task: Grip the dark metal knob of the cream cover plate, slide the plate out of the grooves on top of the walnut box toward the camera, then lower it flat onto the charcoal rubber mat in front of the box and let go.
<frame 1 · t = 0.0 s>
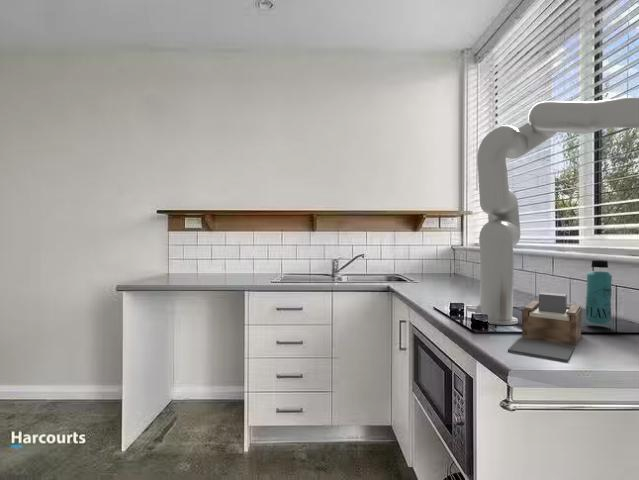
walnut box: (551, 336, 111), on the countertop
charcoal mat: (541, 350, 98), on the countertop
cover plate: (552, 314, 111), point 6 cm above the countertop, touching walnut box
beverage bottle: (597, 327, 124), on the countertop
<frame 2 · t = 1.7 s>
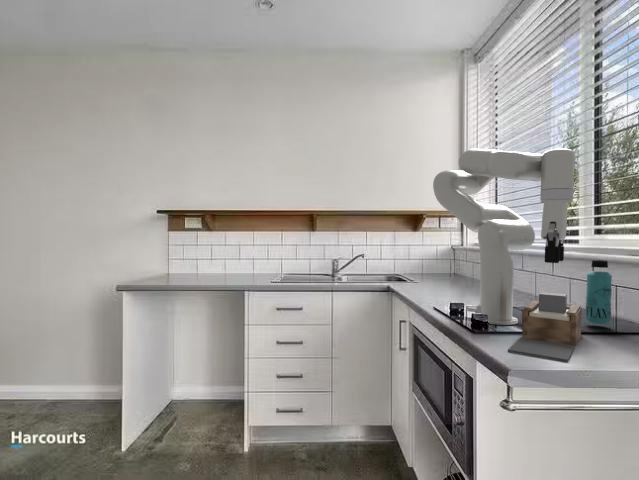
hand: (554, 261, 110), 20 cm above the countertop, tool pointing down, fingers open, 9 cm apart
nothing on the countertop moved.
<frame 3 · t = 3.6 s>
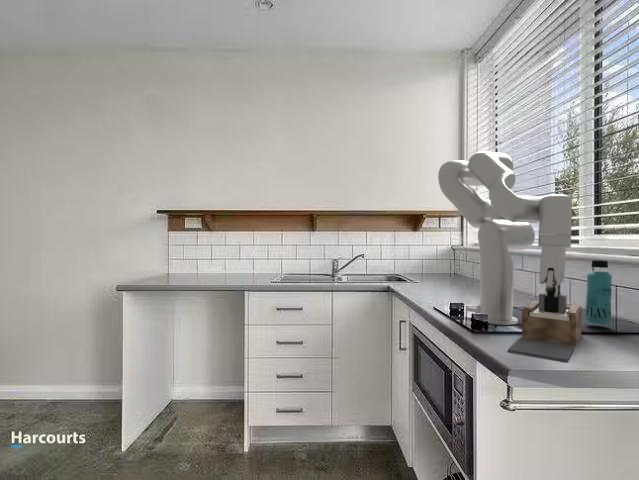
hand: (552, 309, 111), 7 cm above the countertop, tool pointing down, fingers closed on cover plate, 4 cm apart
cover plate: (552, 314, 111), point 6 cm above the countertop, touching gripper, walnut box
everything else where it was.
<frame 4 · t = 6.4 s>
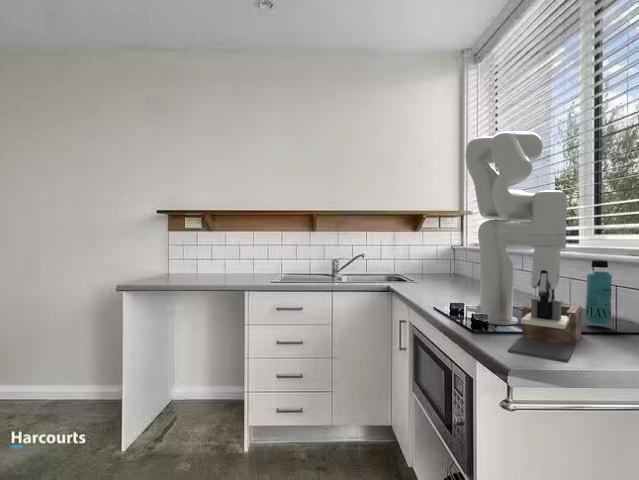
hand: (546, 316, 102), 7 cm above the countertop, tool pointing down, fingers closed on cover plate, 4 cm apart
cover plate: (545, 321, 102), point 6 cm above the countertop, touching gripper
everything else where it was.
when the fingers open (3 cm above the countertop, at t = 9.2 s): cover plate stays where it is, resting on charcoal mat.
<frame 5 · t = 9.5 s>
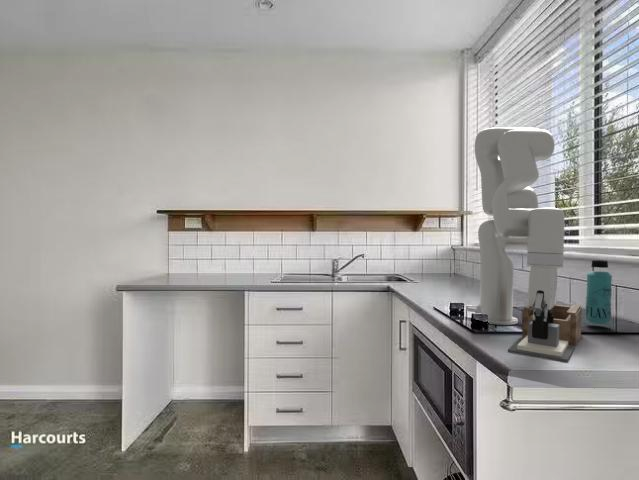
hand: (542, 334, 99), 4 cm above the countertop, tool pointing down, fingers open, 7 cm apart
cover plate: (543, 347, 99), point 1 cm above the countertop, touching charcoal mat
everything else where it was.
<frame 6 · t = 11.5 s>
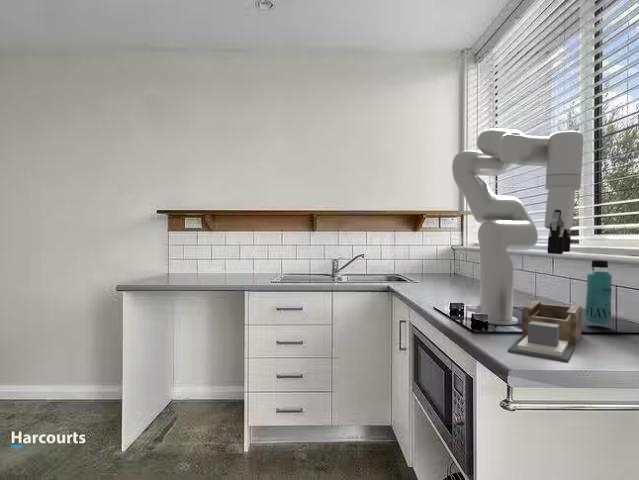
hand: (558, 252, 103), 23 cm above the countertop, tool pointing down, fingers open, 9 cm apart
nothing on the countertop moved.
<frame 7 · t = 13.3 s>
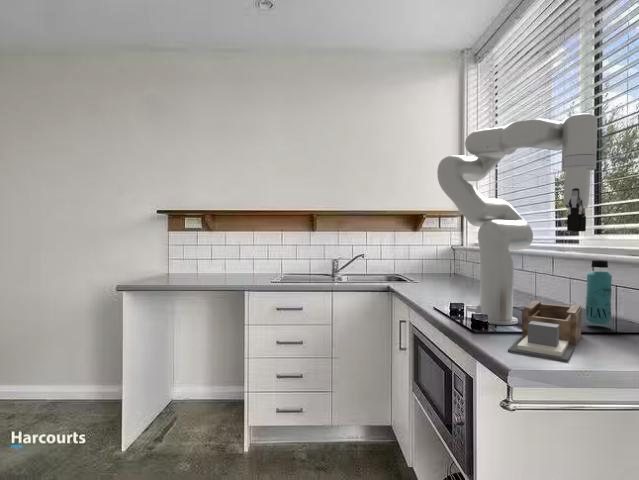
hand: (576, 231, 107), 28 cm above the countertop, tool pointing down, fingers open, 9 cm apart
nothing on the countertop moved.
at the end: cover plate 0.4 cm off-centre on the charcoal mat, point 0.6 cm above the charcoal mat's base; cover plate tilted 0°; cover plate touching charcoal mat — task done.
